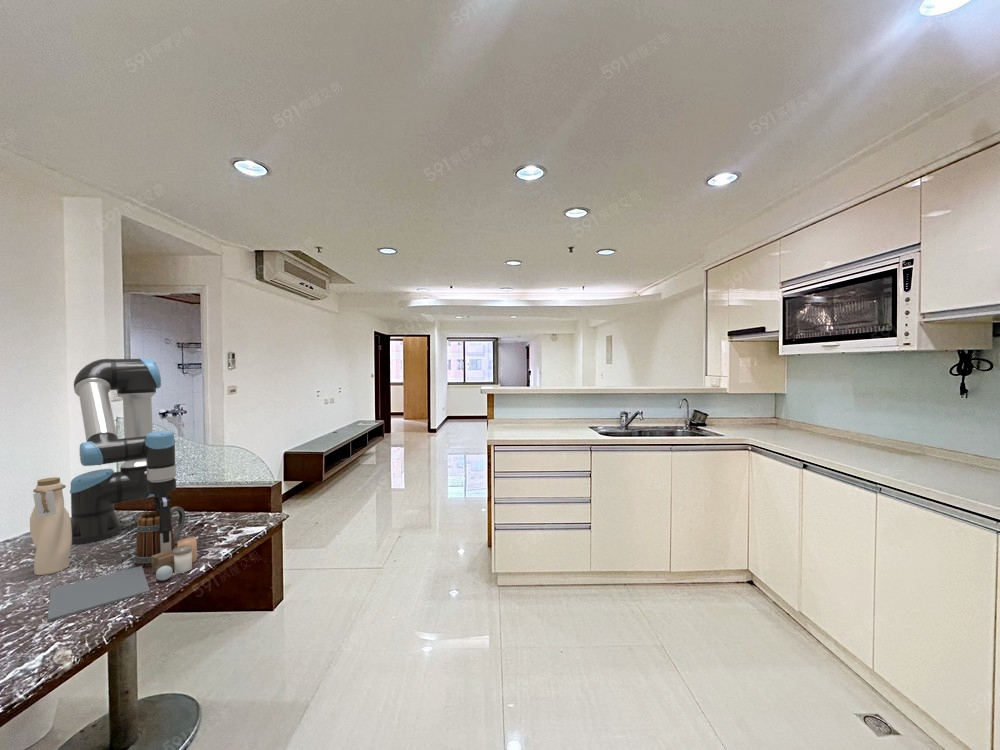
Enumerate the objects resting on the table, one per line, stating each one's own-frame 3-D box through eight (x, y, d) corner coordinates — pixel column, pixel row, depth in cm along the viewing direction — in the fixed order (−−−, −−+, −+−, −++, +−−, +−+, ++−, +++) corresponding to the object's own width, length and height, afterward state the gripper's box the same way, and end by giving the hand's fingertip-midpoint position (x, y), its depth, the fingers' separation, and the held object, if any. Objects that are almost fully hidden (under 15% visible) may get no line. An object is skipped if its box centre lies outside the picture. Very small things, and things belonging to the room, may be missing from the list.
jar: (172, 570, 137) (171, 548, 137) (191, 565, 140) (190, 543, 140) (174, 576, 133) (174, 553, 133) (194, 570, 137) (193, 548, 136)
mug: (154, 569, 138) (152, 521, 137) (126, 565, 140) (124, 518, 139) (197, 547, 153) (196, 504, 152) (171, 545, 155) (170, 502, 154)
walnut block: (151, 571, 136) (151, 555, 136) (170, 565, 140) (170, 549, 140) (159, 576, 133) (158, 559, 133) (178, 569, 138) (177, 553, 138)
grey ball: (155, 579, 131) (154, 566, 131) (171, 574, 134) (171, 561, 134) (156, 584, 128) (156, 571, 128) (173, 579, 131) (173, 566, 131)
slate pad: (50, 590, 125) (50, 588, 125) (141, 567, 139) (141, 565, 138) (47, 621, 110) (47, 619, 110) (149, 592, 124) (149, 590, 124)
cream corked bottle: (74, 570, 137) (71, 480, 136) (32, 580, 130) (28, 486, 129) (71, 559, 144) (68, 473, 143) (31, 569, 137) (27, 479, 136)
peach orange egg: (176, 561, 143) (176, 540, 142) (195, 557, 146) (194, 536, 146) (179, 567, 139) (178, 545, 139) (198, 562, 142) (197, 540, 142)
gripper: (143, 475, 150) (145, 540, 151) (151, 488, 134) (153, 561, 135) (170, 471, 156) (172, 534, 156) (181, 483, 139) (183, 553, 140)
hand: (163, 547), depth 146 cm, fingers open, 10 cm apart
